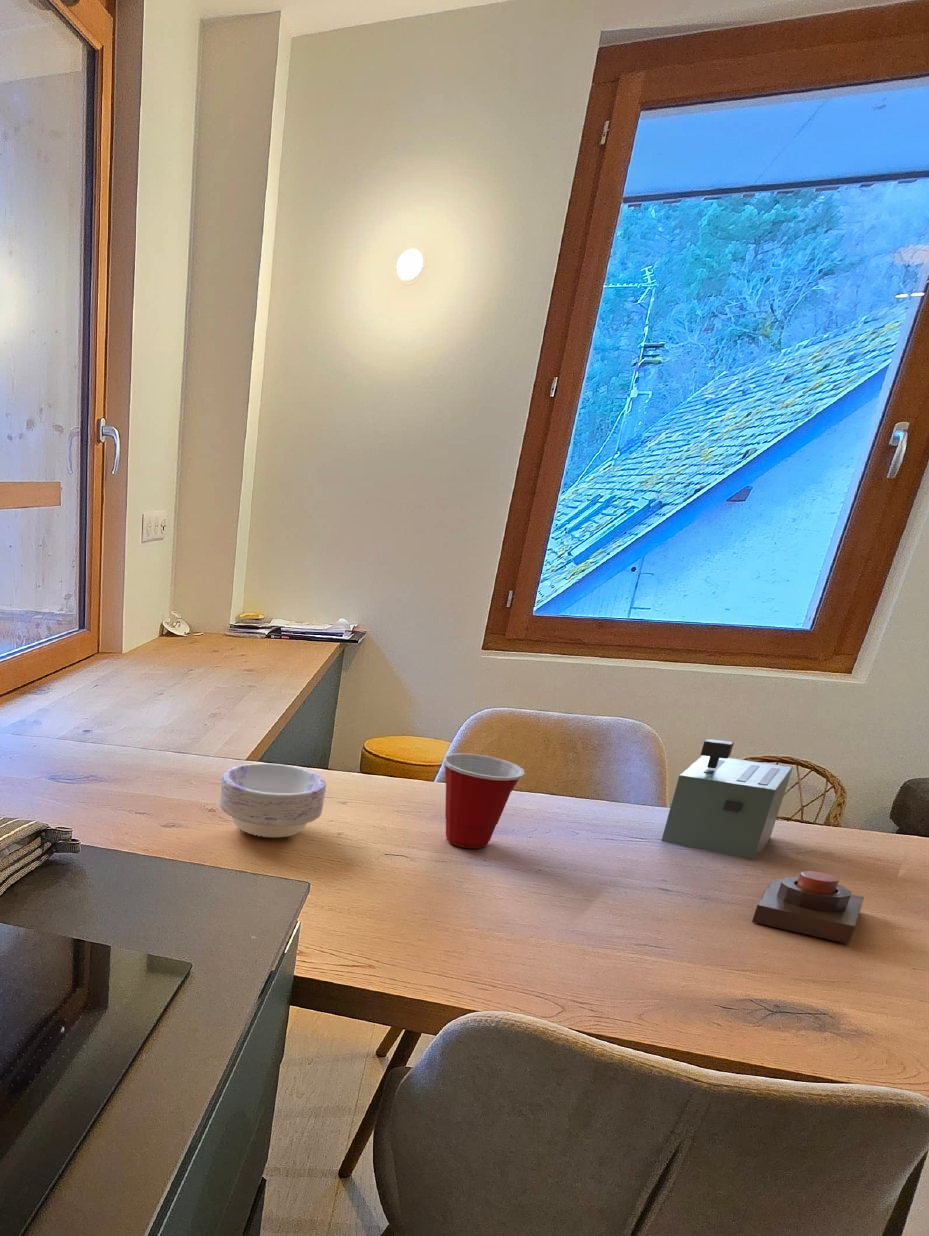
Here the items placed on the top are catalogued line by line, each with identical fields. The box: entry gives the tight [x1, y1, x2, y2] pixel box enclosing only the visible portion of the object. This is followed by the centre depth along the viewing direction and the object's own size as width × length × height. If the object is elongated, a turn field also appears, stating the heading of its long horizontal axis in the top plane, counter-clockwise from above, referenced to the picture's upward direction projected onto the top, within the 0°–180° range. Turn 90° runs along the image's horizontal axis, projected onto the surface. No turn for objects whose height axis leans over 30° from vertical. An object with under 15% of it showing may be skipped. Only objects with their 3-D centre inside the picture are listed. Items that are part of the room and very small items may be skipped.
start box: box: [751, 876, 865, 945], centre depth 110 cm, size 12×9×4 cm
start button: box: [796, 870, 840, 894], centre depth 109 cm, size 4×4×2 cm
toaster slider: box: [700, 738, 735, 768], centre depth 131 cm, size 2×3×4 cm
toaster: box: [660, 755, 793, 861], centre depth 133 cm, size 18×11×11 cm, turn 137°
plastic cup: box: [443, 752, 526, 849], centre depth 133 cm, size 11×11×12 cm
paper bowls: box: [219, 762, 327, 838], centre depth 139 cm, size 15×15×8 cm
